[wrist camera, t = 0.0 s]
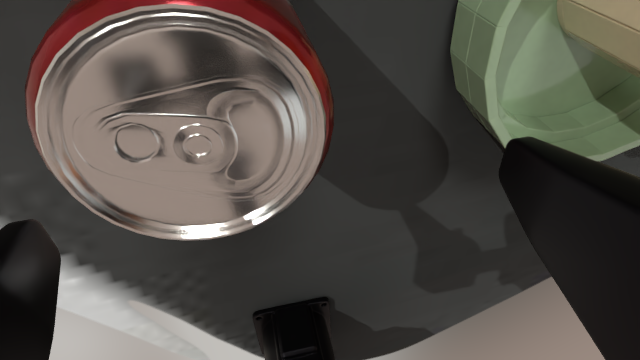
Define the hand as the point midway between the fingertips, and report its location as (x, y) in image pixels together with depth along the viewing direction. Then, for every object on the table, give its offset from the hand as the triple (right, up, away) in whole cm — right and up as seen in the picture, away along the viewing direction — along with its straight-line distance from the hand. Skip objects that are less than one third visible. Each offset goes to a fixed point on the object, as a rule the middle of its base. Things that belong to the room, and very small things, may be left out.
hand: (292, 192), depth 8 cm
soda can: (-5, +9, +11) cm, 15 cm away
